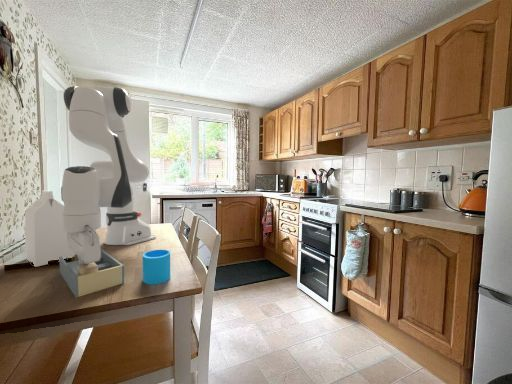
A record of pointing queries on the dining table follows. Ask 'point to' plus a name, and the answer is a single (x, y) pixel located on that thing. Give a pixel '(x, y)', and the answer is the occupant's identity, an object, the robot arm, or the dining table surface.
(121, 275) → the box
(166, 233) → the dining table surface
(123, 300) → the dining table surface
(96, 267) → the block
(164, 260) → the mug
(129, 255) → the dining table surface
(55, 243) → the milk
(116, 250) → the dining table surface
